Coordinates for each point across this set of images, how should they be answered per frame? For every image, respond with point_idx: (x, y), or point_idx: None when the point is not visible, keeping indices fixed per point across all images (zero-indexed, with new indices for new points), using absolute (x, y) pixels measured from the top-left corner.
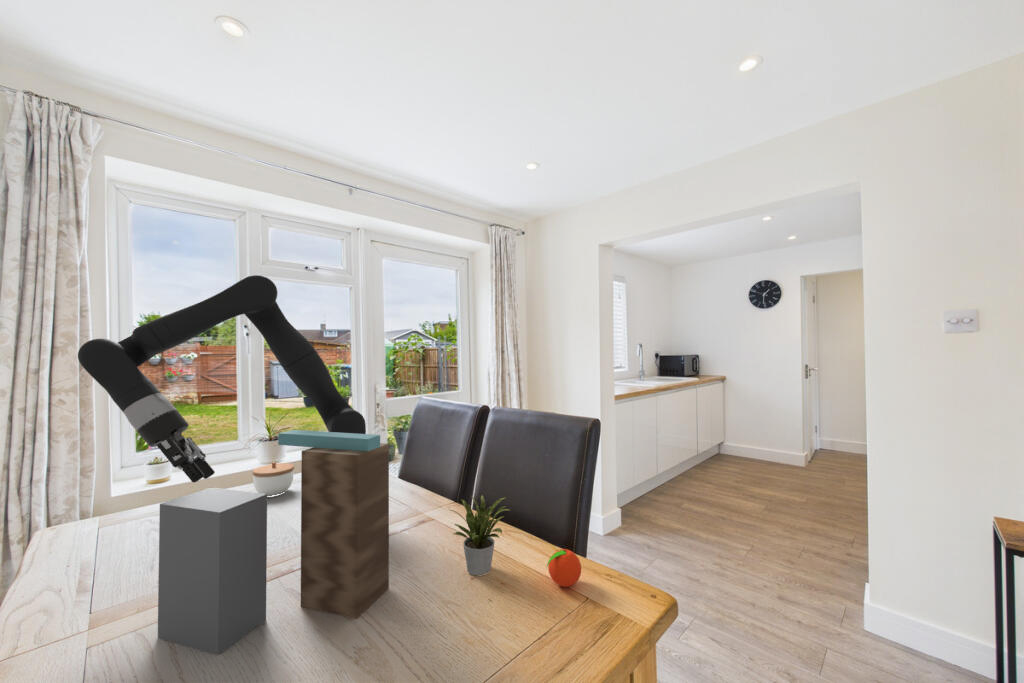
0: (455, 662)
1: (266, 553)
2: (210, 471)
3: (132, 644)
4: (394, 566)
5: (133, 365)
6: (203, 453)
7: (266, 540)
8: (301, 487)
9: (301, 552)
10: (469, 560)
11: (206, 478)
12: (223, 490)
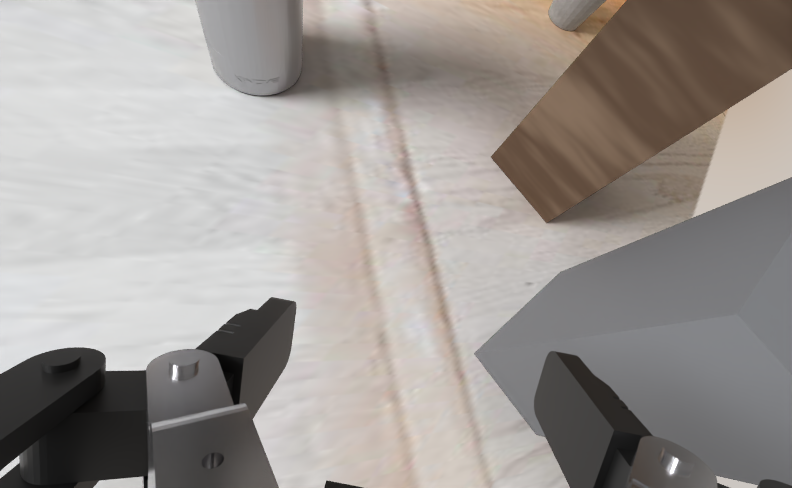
0: (704, 130)
1: (659, 232)
2: (288, 321)
3: (535, 476)
4: (497, 80)
5: None
6: (14, 375)
7: (687, 220)
8: (787, 70)
9: (618, 177)
10: (588, 13)
11: (289, 350)
12: (789, 270)
